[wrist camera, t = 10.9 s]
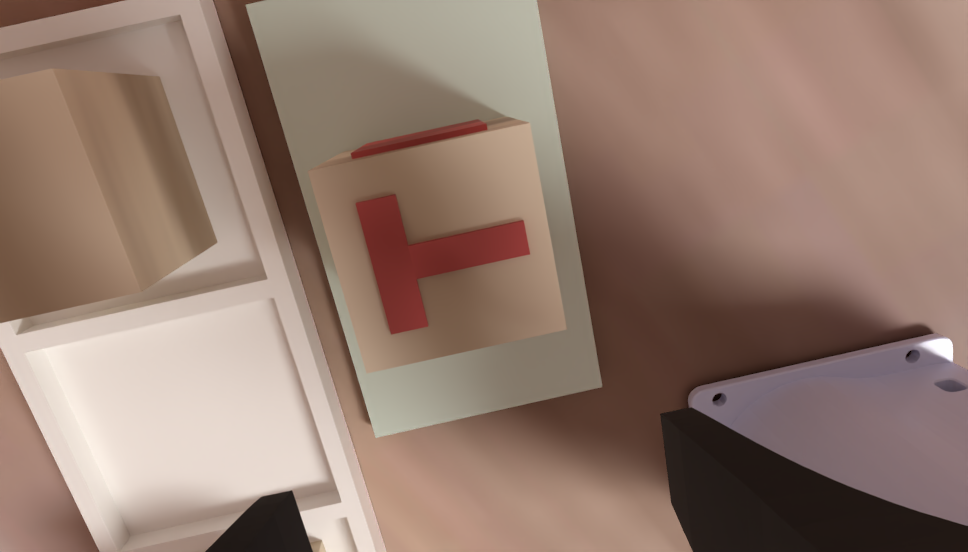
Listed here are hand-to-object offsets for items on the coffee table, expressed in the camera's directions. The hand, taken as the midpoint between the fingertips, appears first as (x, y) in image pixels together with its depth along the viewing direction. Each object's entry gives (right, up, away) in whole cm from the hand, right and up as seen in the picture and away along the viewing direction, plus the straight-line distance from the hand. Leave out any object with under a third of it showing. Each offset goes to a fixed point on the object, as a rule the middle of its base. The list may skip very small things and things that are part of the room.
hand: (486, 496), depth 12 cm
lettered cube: (-1, +6, +7) cm, 10 cm away
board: (-1, +6, +8) cm, 10 cm away
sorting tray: (-10, -1, +9) cm, 13 cm away
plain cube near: (-11, +7, +6) cm, 15 cm away
